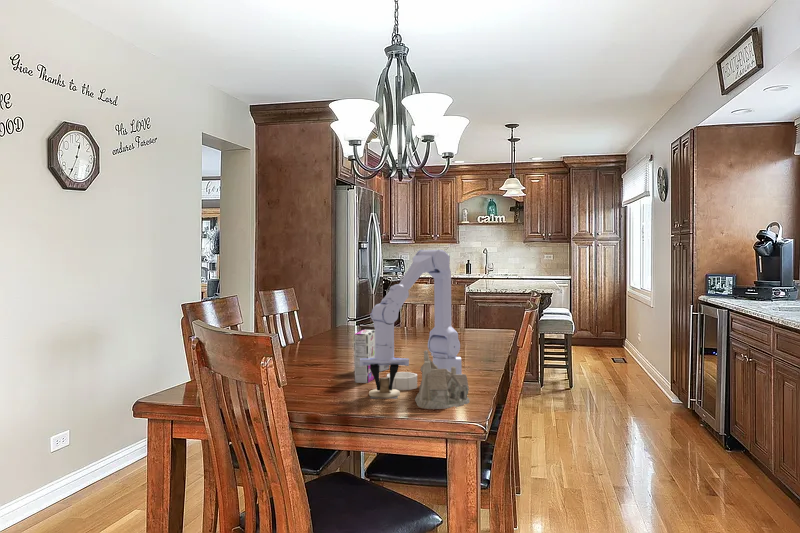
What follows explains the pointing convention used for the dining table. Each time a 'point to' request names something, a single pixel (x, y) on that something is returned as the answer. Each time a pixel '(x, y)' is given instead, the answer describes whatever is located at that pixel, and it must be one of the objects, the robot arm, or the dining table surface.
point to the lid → (384, 390)
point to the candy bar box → (363, 354)
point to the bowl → (404, 381)
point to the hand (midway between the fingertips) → (384, 389)
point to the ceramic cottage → (441, 387)
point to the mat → (384, 398)
